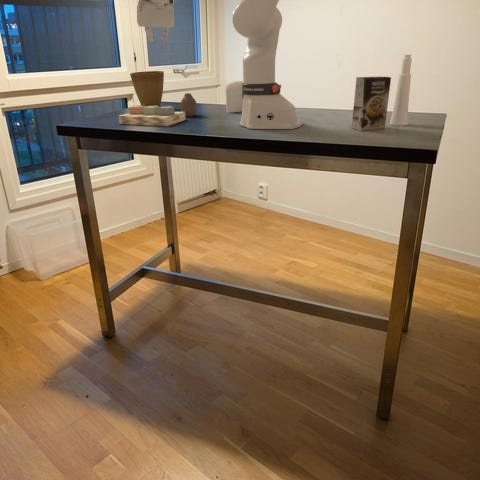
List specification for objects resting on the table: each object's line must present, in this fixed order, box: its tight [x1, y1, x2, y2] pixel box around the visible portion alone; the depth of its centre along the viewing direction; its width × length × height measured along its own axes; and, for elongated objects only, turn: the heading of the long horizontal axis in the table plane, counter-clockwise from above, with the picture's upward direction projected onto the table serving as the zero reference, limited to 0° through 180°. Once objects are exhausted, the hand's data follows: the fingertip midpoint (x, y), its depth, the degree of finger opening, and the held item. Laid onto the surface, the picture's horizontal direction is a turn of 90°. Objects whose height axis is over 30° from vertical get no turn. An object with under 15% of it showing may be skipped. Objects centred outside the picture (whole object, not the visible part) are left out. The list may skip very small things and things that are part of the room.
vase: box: [180, 92, 198, 118], centre depth 174 cm, size 7×7×9 cm
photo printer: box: [225, 80, 243, 114], centre depth 179 cm, size 10×4×12 cm, turn 109°
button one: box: [128, 105, 145, 115], centre depth 166 cm, size 4×4×3 cm
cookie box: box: [351, 76, 392, 132], centre depth 138 cm, size 9×6×16 cm
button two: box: [158, 105, 176, 116], centre depth 161 cm, size 4×4×3 cm
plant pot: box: [129, 70, 165, 108], centre depth 193 cm, size 15×15×16 cm
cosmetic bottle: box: [389, 54, 413, 127], centre depth 142 cm, size 6×6×22 cm
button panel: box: [118, 111, 186, 127], centre depth 164 cm, size 21×14×3 cm, turn 68°
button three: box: [143, 106, 159, 115], centre depth 163 cm, size 4×4×3 cm
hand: (157, 40), depth 159 cm, fingers open, 8 cm apart
